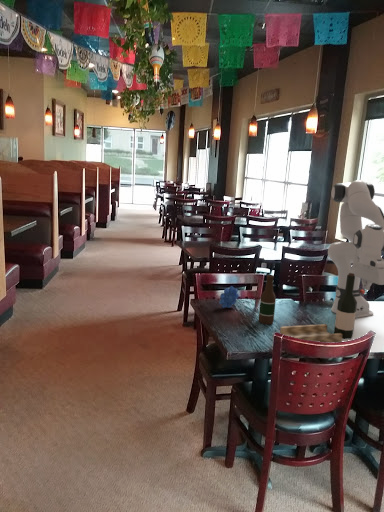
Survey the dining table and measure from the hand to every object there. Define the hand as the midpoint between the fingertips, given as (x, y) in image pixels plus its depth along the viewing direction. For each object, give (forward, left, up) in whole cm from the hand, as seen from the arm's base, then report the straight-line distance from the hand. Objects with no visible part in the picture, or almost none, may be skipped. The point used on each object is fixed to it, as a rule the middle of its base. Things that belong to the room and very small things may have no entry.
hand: (365, 289), depth 196 cm
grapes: (+49, -46, -23) cm, 71 cm away
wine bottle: (+9, 0, -23) cm, 24 cm away
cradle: (+26, 0, -22) cm, 35 cm away
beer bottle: (+38, -22, -23) cm, 49 cm away
